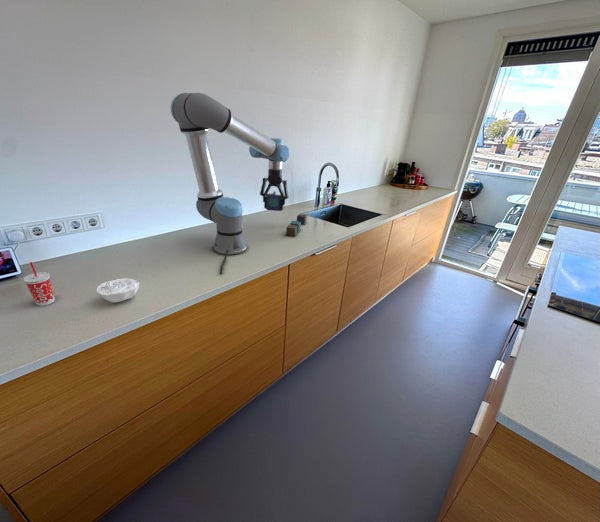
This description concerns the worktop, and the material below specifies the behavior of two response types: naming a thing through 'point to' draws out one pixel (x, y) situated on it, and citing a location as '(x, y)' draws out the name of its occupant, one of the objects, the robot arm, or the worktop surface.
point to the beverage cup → (40, 287)
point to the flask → (273, 201)
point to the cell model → (118, 289)
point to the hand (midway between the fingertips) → (273, 209)
